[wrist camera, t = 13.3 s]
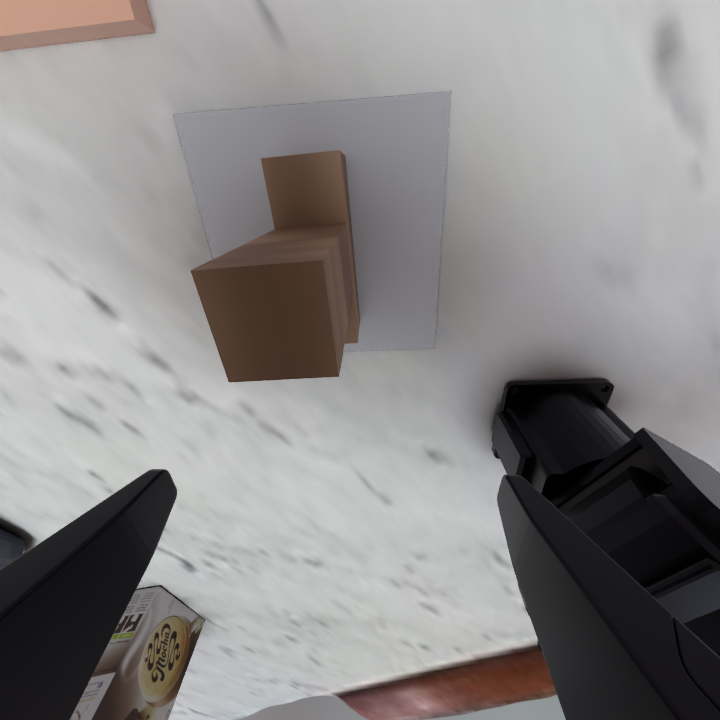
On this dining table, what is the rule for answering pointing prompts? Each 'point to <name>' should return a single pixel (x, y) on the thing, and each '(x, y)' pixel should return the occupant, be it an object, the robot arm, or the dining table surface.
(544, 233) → the dining table surface
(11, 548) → the dark grey folded shirt
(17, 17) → the tile
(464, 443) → the dining table surface
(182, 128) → the mat
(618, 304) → the dining table surface
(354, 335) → the brown stepped wooden block
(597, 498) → the robot arm
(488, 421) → the dining table surface
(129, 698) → the coffee box
